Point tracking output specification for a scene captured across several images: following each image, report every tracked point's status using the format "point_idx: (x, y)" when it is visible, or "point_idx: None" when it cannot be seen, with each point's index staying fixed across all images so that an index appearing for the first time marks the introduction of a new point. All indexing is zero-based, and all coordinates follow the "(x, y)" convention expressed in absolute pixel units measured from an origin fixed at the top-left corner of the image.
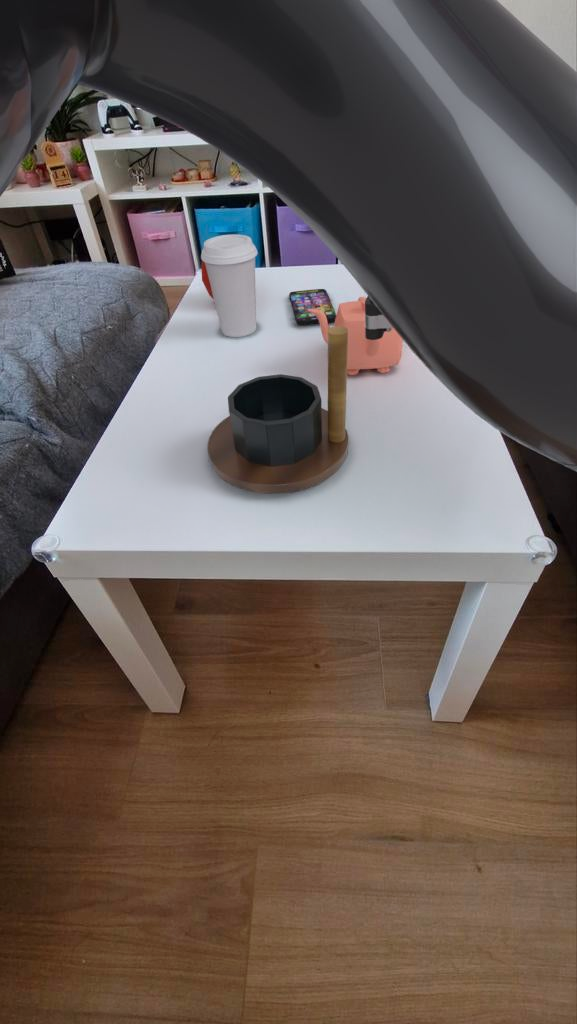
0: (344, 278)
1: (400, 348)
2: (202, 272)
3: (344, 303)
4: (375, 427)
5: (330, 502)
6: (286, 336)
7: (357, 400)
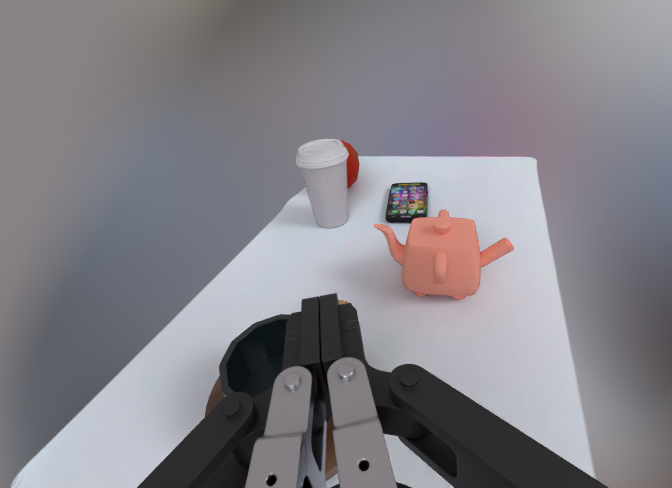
0: (451, 171)
1: (476, 280)
2: None
3: (418, 219)
4: None
5: None
6: (371, 233)
7: (413, 337)
